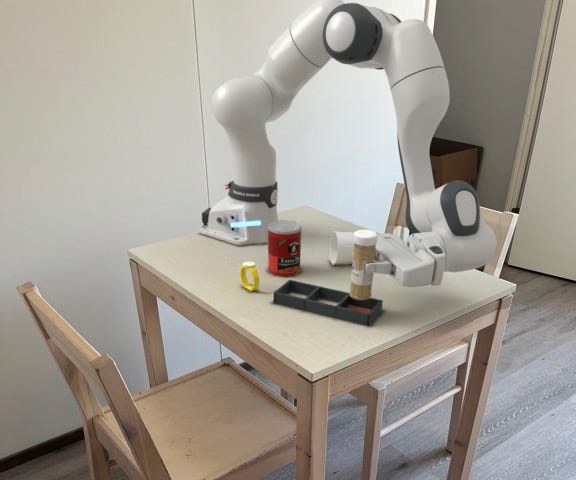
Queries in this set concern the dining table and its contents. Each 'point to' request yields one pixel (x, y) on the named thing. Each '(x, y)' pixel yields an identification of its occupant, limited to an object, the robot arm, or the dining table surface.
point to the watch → (254, 273)
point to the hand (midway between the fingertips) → (359, 262)
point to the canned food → (284, 247)
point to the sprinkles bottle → (362, 264)
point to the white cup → (341, 248)
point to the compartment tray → (339, 311)
